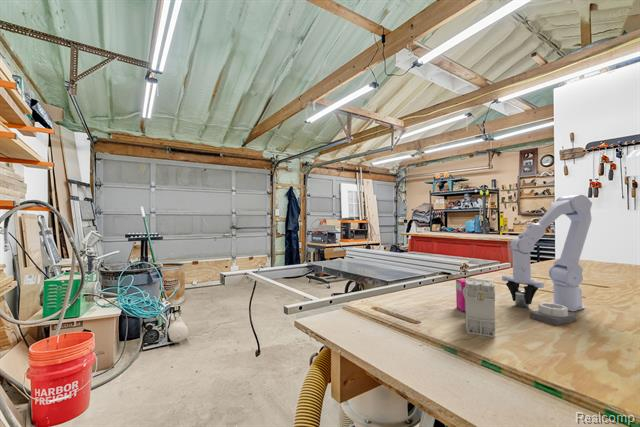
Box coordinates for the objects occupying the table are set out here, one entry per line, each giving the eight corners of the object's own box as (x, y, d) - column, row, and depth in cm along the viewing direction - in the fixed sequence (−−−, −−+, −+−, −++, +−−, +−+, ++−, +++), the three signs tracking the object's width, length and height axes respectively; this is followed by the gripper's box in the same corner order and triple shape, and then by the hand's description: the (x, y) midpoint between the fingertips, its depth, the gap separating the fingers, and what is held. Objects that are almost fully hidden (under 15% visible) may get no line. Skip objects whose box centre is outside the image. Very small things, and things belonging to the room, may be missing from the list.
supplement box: (471, 308, 111) (471, 278, 111) (478, 313, 105) (478, 282, 105) (455, 307, 111) (455, 278, 111) (461, 312, 105) (461, 281, 106)
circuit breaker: (489, 321, 97) (489, 277, 97) (495, 337, 84) (494, 286, 84) (464, 318, 100) (464, 275, 100) (466, 333, 87) (466, 283, 87)
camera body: (549, 312, 105) (549, 300, 105) (576, 320, 98) (576, 306, 98) (530, 317, 100) (529, 304, 100) (556, 325, 93) (556, 311, 93)
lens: (519, 304, 116) (519, 289, 116) (531, 307, 111) (531, 292, 112) (512, 305, 114) (512, 290, 114) (524, 308, 110) (524, 293, 110)
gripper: (497, 265, 118) (497, 298, 118) (535, 272, 105) (536, 309, 104) (507, 264, 121) (508, 296, 120) (546, 270, 107) (547, 306, 107)
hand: (521, 302), depth 113 cm, fingers closed on lens, 4 cm apart
